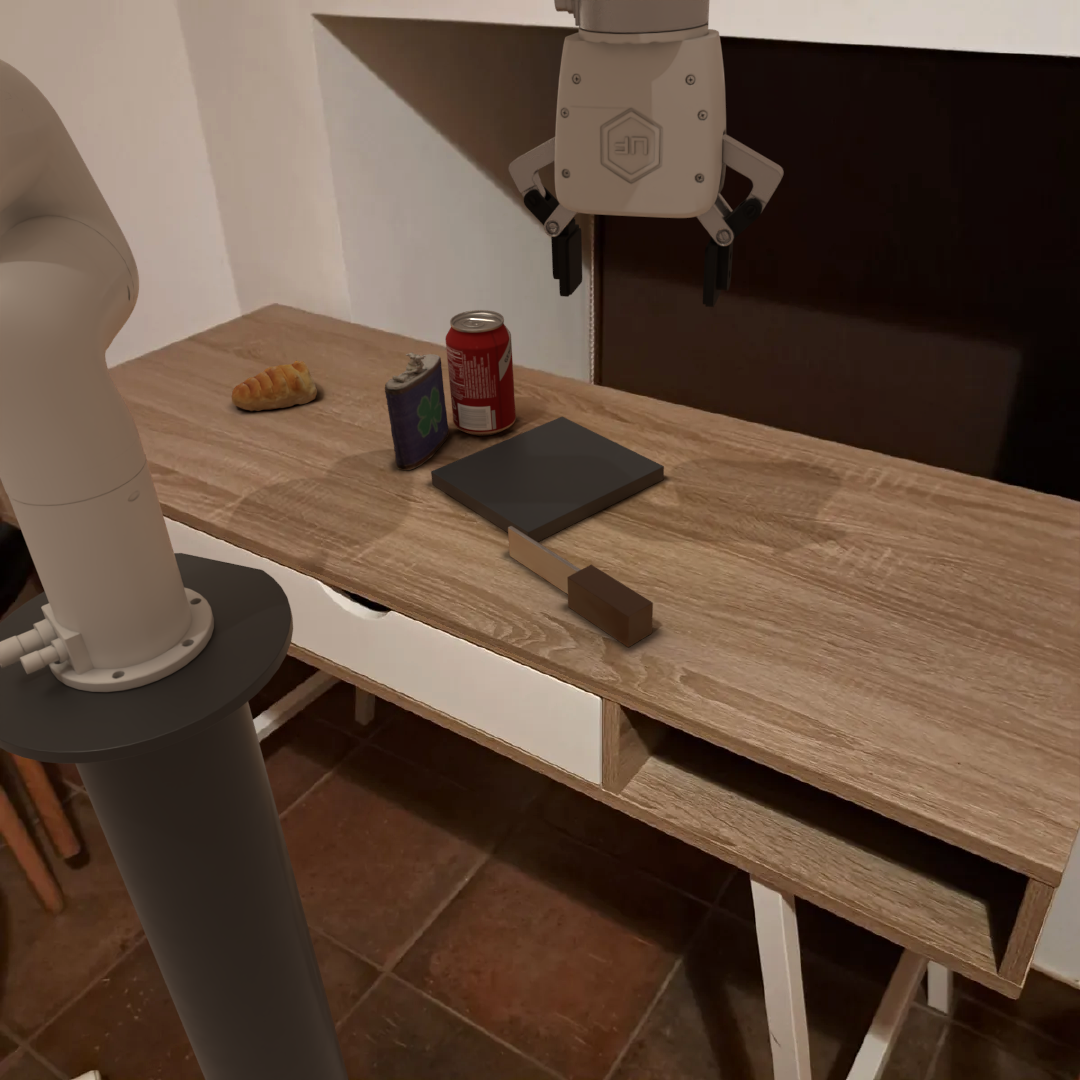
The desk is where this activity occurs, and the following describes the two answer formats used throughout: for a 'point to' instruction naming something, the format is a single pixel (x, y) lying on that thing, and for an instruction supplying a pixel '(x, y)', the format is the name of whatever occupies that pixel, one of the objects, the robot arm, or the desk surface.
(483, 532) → the desk surface
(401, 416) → the flask
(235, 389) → the pastry
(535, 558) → the knife
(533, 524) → the board
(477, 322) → the soda can
